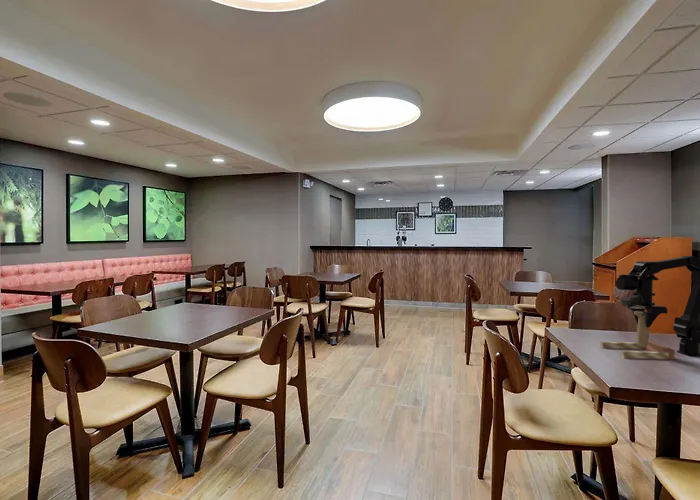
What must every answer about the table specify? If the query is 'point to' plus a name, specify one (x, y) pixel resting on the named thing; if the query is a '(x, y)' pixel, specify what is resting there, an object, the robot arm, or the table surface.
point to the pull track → (654, 348)
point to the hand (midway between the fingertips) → (643, 325)
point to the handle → (642, 329)
